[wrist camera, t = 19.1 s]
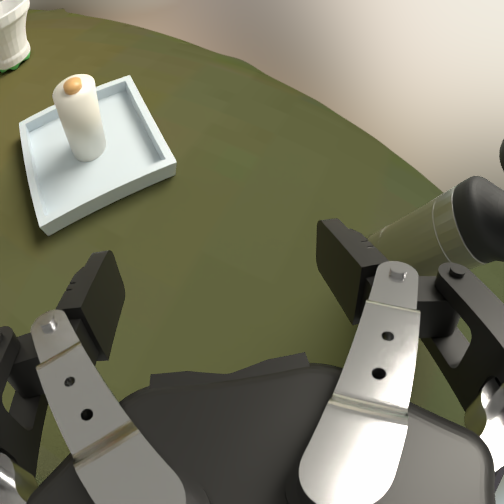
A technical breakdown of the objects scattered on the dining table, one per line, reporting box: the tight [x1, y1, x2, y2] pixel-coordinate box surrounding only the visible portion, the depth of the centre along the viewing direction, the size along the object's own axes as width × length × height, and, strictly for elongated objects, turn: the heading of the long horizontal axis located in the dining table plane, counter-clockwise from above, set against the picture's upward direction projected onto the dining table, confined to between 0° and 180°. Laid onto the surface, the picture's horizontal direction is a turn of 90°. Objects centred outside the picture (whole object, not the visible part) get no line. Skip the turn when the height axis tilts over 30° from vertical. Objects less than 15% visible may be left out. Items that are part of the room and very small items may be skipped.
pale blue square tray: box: [19, 75, 177, 236], centre depth 33 cm, size 18×18×3 cm
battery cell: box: [53, 74, 106, 162], centre depth 28 cm, size 5×5×12 cm
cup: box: [0, 0, 30, 73], centre depth 28 cm, size 11×11×14 cm
